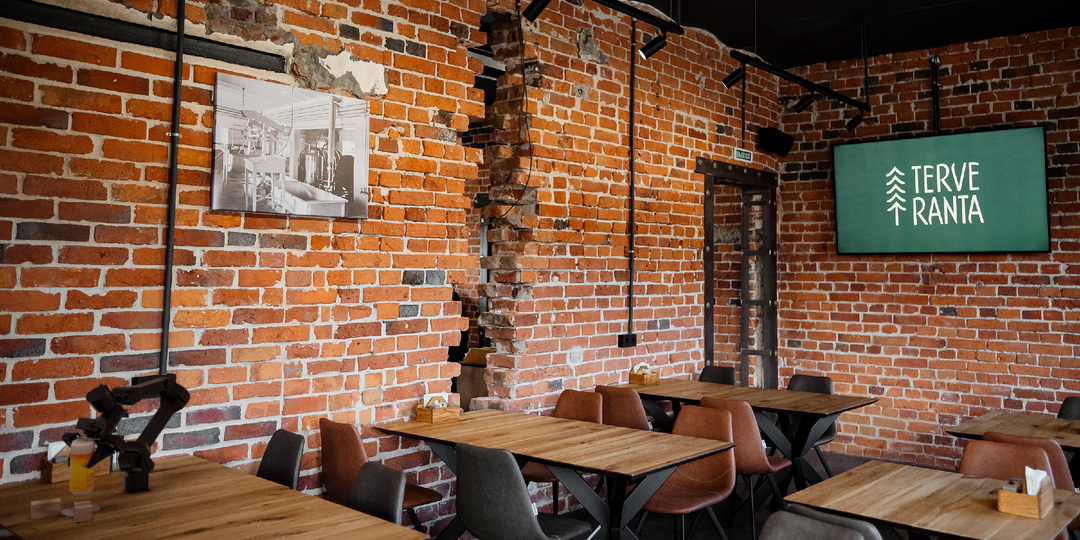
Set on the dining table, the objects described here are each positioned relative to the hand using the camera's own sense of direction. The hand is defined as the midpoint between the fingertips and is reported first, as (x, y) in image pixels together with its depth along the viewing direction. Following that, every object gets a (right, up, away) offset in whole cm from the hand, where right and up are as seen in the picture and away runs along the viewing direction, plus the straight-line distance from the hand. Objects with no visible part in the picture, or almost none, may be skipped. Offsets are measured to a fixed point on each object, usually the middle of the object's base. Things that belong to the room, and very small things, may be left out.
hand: (78, 467), depth 221 cm
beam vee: (0, -13, -1) cm, 13 cm away
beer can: (0, -8, +1) cm, 8 cm away
